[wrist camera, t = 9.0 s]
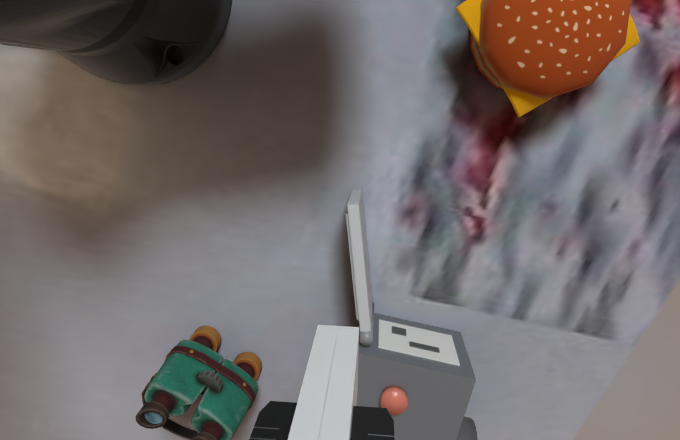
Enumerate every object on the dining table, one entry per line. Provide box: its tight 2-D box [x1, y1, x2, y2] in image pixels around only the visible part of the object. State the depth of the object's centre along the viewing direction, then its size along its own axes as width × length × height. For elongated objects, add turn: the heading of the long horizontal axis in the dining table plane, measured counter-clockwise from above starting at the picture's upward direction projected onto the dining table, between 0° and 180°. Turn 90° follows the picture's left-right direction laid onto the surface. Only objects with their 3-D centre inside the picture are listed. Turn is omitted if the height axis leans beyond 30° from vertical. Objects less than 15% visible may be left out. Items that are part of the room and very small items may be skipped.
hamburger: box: [456, 0, 640, 118], centre depth 31 cm, size 9×10×7 cm
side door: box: [346, 189, 374, 346], centre depth 36 cm, size 1×11×6 cm, turn 6°
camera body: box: [356, 313, 478, 440], centre depth 39 cm, size 14×12×8 cm
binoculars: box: [136, 326, 262, 440], centre depth 39 cm, size 9×11×10 cm
